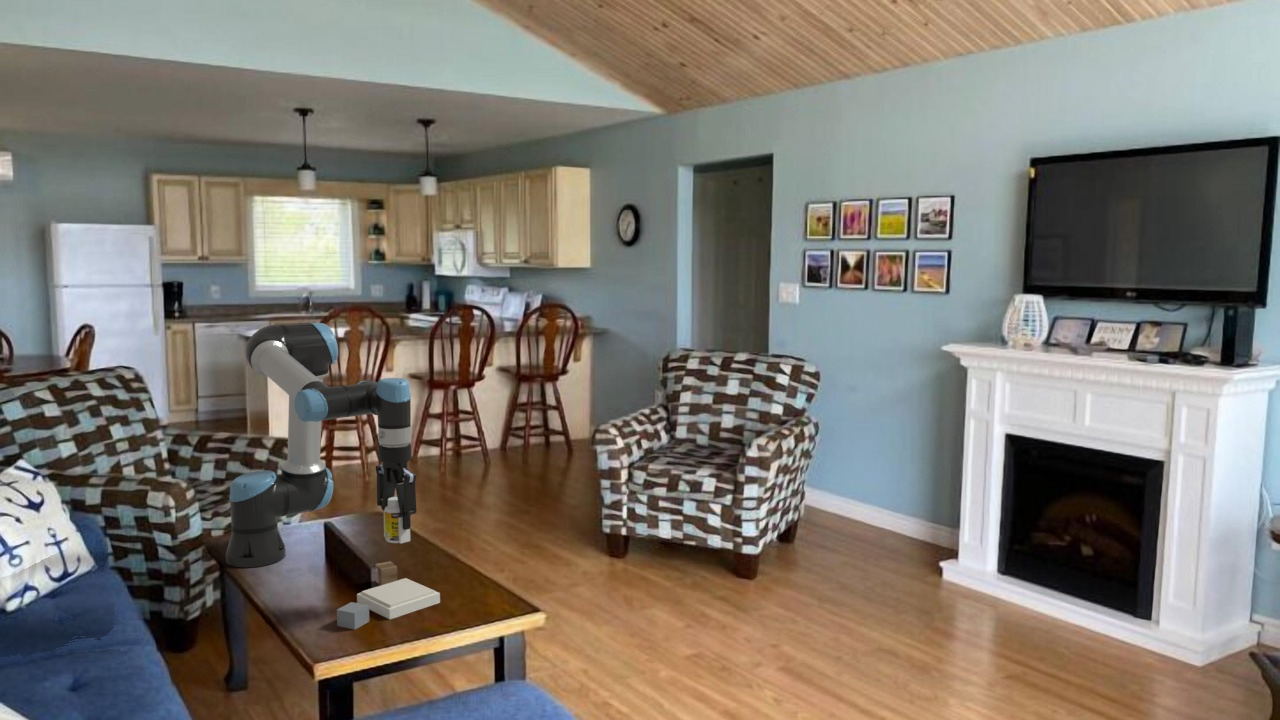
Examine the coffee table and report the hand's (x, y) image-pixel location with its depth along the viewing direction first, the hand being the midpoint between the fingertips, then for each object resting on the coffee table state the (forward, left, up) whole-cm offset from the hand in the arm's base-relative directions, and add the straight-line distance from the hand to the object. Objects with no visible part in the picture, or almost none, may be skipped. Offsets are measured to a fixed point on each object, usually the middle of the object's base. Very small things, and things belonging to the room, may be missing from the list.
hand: (397, 538), depth 225 cm
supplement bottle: (0, 0, -1) cm, 1 cm away
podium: (0, 0, -16) cm, 16 cm away
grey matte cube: (+3, -14, -16) cm, 22 cm away
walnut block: (-13, +5, -16) cm, 21 cm away
